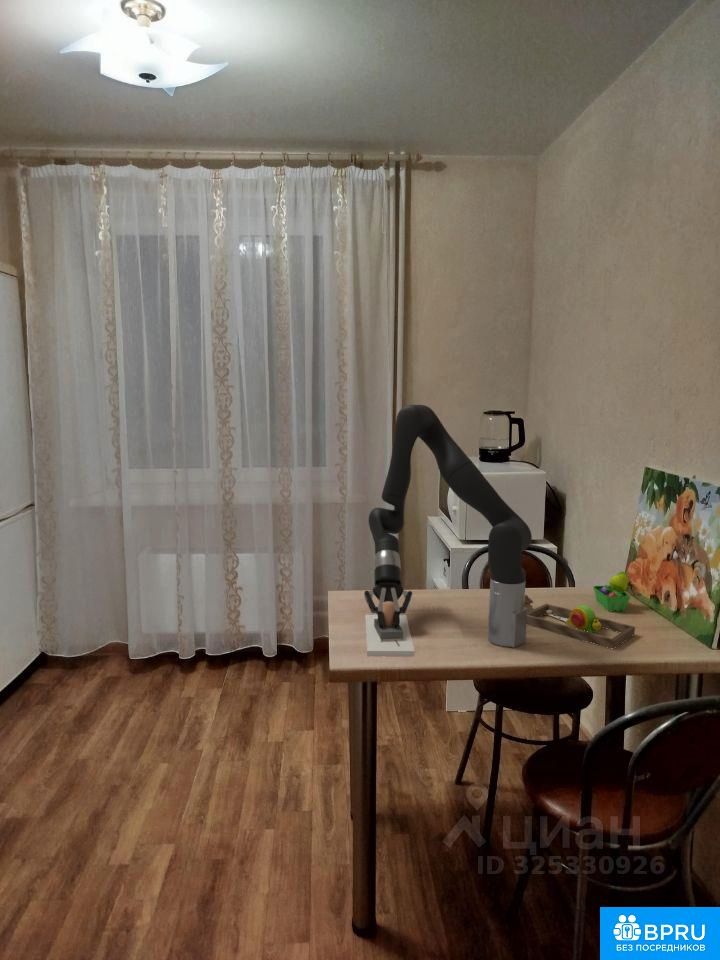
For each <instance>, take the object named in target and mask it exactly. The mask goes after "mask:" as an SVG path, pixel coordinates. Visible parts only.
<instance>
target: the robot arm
mask: <svg viewBox="0 0 720 960" xmlns="http://www.w3.org/2000/svg"><path fill="white" fill-rule="evenodd" d="M393 434H394V436H393V443H392V449H391V456H390V462H389V468H388V471H387V474H386V478H385V482H384V485H383V489H382V492H381V499H382V501H384V502H385V503H387V504H389V505H392V506H393V508H394V509H389V508H383V507H374V508H373V509H371V511H370V513H369V515H368V527H369V530H370V533H371V535H372V539H373V543H374V560H373V561H374V562H373V564H374V566H373V570H374V571H373V572H374V573H373V574H374V579H373V581H374V586H373V588H372V590H365V591H364V599H365V602H366V603H367V606H368V608H369V610H370V612H371V613H372V614H375V615H378V625H379V626H380V628H383V602H385V601H392V602H394V603H395V609H394V628H397V626H399V624H400V615H402V614H405V613H406V611H407V609H408V607H409V605H410V603H411V599H412V598H413V597H412V596H413V591H412V590H408V591H407V590H404V588H403V585H402V568H401V558H400V543H399V538H398V537H396V536H395V535H397V534H399V533H400V532H401V531H402V530H403V528H404V525H405V502H406V497H407V494H408V490H409V488H410V484H411V478H412V467H411V465H412V464H411V463H412V462H411V461H412V459H411V457H412V452H413V448H414V446H415V444H416V441H417V439H420V440H421V441H422V442H423V443H424V444H425V445H426V446H427V448H429V450H430V451H431V452H432V454H433V456H434V458H435V461H436V464H437V467H438V470H439V473H440V475H441V477H442V479H443V481H444V482H445V483H446V484H447V486H448V487H449V488H450V489H451V490H452V492H453V493H454V494H455V495H456V497H458V498H459V499H460V500H461V501H462V502H464V503H465V504H466V505H468V506H470V507H471V508H473V509H474V510H476V511H477V512H479V513H480V514H481V515H482V516H483V517H484V519H486V521H488V522H489V524H490V526H491V529H490V532H489V535H488V543H487V546H488V547H487V558H488V559H487V560H488V561H487V564H488V569H489V573H490V575H489V576H490V578H489V579H490V581H489V600H488V602H489V603H488V605H489V606H488V626H487V627H488V630H487V641H489V642H490V643H492V644H494V645H497V646H501V647H510V648H512V649H513V648H517V647H518V646H520V645H521V644H523V643H526V640H527V625H528V624H527V608H525V607H524V600H525V595H526V594H525V593H526V579H527V578H526V577H527V576H526V575H527V574H526V570H525V569H524V568H523V567H522V552H523V551H525V550H527V549H528V548H529V547H530V545H531V543H532V540H533V539H532V531H531V529H530V527H529V525H528V524H527V523H526V521H524V519H523V518H522V517H520V516H519V514H517V513H516V512H515V511H514V510H513V509H512V508H511V506H510V505H509V504H507V503H506V501H505V500H504V499H503V498H502V497H501V496H500V495H499V493H498V492H497V491H496V489H495V488H494V486H492V485H491V483H490V482H489V481H488V480H487V479H486V477H485V476H484V474H483V473H482V472H481V471H480V469H479V468H478V467H477V466H476V464H475V463H474V462H473V460H471V459H470V457H468V455H466V453H465V452H464V450H463V449H462V448H461V447H460V445H459V444H458V443H457V442H456V441H455V440H454V439H453V438H452V436H451V435H450V433H449V432H448V431H447V429H446V428H445V426H444V425H443V423H442V422H441V420H440V418H439V417H438V416H437V414H436V413H435V411H434V410H433V409H432V408H431V407H429V406H427V405H425V404H409V405H405V406H403V407H402V408H401V409H400V410H399V411H398V412H397V415H396V419H395V426H394V433H393ZM373 595H374V596H375V598H376V599H377V600H378V606H376V605H375V602H374V599H373V597H374V596H373ZM402 595H403V599H404V600H403V602H402V606H399V601H398V600H399V599H400V598H401V597H402Z"/></svg>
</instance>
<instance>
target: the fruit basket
mask: <svg viewBox="0 0 720 960" xmlns="http://www.w3.org/2000/svg"><path fill="white" fill-rule="evenodd" d="M629 579H630V578H629V577H628V573H627V572H625V571H619V572H618V573H617V574H616V575H614V576H612V577H611V578H610V579H609V580H608V581H609V584H605V585H593V586H592V587H593V590H594V594H595V599H596V603H597V602H599V603H600V604H601V605H603V606H602V607H603V608H604V607H605V608H606V609H605V608H604V609H605V610H606V611H607V610H609V611H610V612H612V611H611V610H614V611H613V612H625V611H626V608H627V605H628V603H629V600H630V599H631V598H632V597H631V595H630V594H629V593H627V592H625V591H626V590H627V588H628V586H629V585H628V582H629ZM599 603H598V604H599ZM600 604H599V605H600ZM601 605H600V606H601ZM615 610H616V611H615ZM620 610H621V611H620ZM609 611H608V612H609Z"/></svg>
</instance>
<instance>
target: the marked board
mask: <svg viewBox="0 0 720 960" xmlns="http://www.w3.org/2000/svg"><path fill="white" fill-rule="evenodd" d="M374 619H378V615H377V614H365V630H366V631H365V633H366V650H367V651H366V655H367V657H371V656H374V658H375V657H382V656H385V657H393V658H395V657H396V658H397V657H398V658H399V657H401V658H404V657H405V658H406V657H407V658H409V657H412V656H413V658H414V657H415V648H414V643H413V639H412V634H411V631H410V627H409V622H408V618H407V614H400V624H399V625H400V627H401V628H402V630H403V640H385V641H381V640H380V638H379V636H378V634H377V632H376V630H375V628H374Z"/></svg>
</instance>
